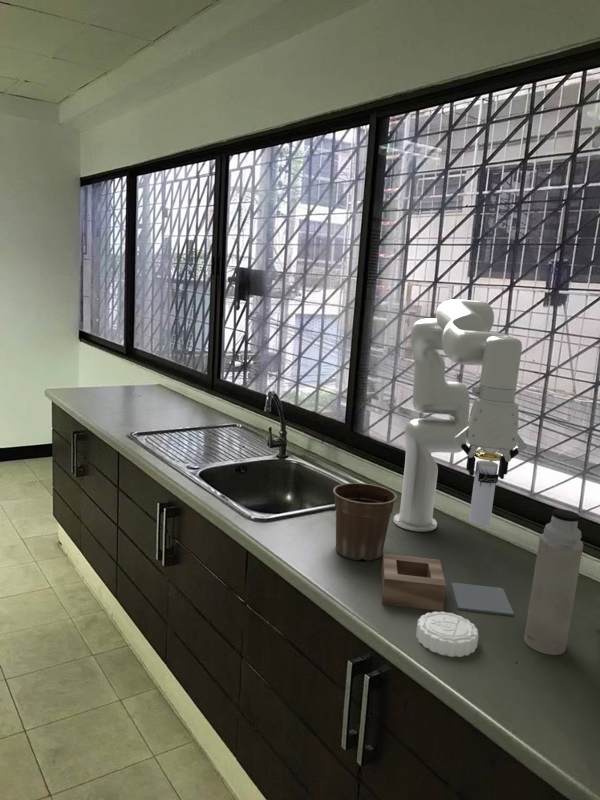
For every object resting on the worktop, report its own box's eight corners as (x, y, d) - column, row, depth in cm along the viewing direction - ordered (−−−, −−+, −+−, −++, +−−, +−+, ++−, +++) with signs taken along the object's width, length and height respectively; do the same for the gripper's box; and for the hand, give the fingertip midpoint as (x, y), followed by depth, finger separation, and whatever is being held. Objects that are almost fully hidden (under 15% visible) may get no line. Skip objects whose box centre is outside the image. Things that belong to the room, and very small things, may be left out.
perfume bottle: (462, 519, 147) (473, 433, 144) (487, 520, 147) (499, 435, 144) (469, 528, 142) (481, 439, 138) (495, 530, 142) (508, 441, 138)
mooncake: (421, 619, 138) (423, 603, 137) (479, 633, 134) (482, 617, 133) (410, 647, 127) (412, 630, 126) (473, 664, 123) (475, 647, 122)
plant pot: (345, 533, 180) (350, 478, 177) (400, 549, 172) (406, 491, 169) (316, 553, 166) (321, 492, 163) (374, 571, 158) (381, 508, 155)
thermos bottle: (518, 631, 135) (537, 504, 130) (555, 633, 135) (576, 506, 130) (532, 654, 127) (554, 518, 122) (572, 656, 128) (595, 521, 122)
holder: (380, 576, 155) (383, 553, 154) (436, 583, 154) (439, 559, 153) (382, 603, 142) (384, 578, 141) (442, 611, 141) (446, 585, 140)
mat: (451, 584, 154) (451, 582, 154) (502, 590, 153) (503, 588, 153) (457, 609, 143) (458, 607, 142) (513, 616, 142) (514, 613, 141)
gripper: (457, 393, 136) (447, 476, 140) (542, 401, 134) (529, 485, 138) (453, 387, 144) (444, 466, 147) (534, 395, 142) (522, 474, 145)
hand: (485, 474), depth 142 cm, fingers closed on perfume bottle, 5 cm apart
